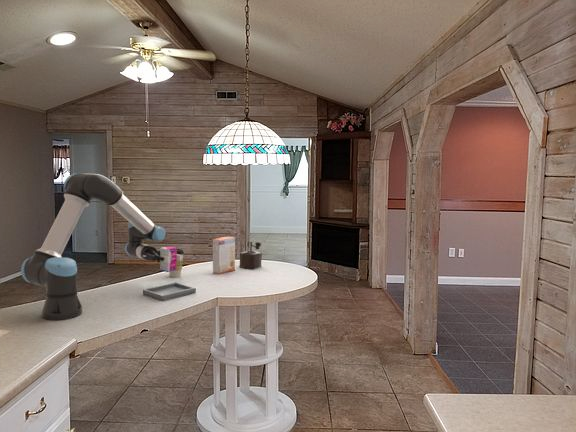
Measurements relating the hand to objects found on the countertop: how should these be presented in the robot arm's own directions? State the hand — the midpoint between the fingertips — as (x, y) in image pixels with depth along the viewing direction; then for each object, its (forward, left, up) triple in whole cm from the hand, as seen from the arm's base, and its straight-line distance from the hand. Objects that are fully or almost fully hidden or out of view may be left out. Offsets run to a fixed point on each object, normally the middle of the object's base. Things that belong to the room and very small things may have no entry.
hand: (174, 258), depth 222 cm
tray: (0, +5, -18) cm, 19 cm away
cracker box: (+52, +21, -19) cm, 60 cm away
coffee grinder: (+73, +16, -19) cm, 77 cm away
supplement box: (0, +5, -7) cm, 8 cm away
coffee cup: (+25, +33, -19) cm, 46 cm away
